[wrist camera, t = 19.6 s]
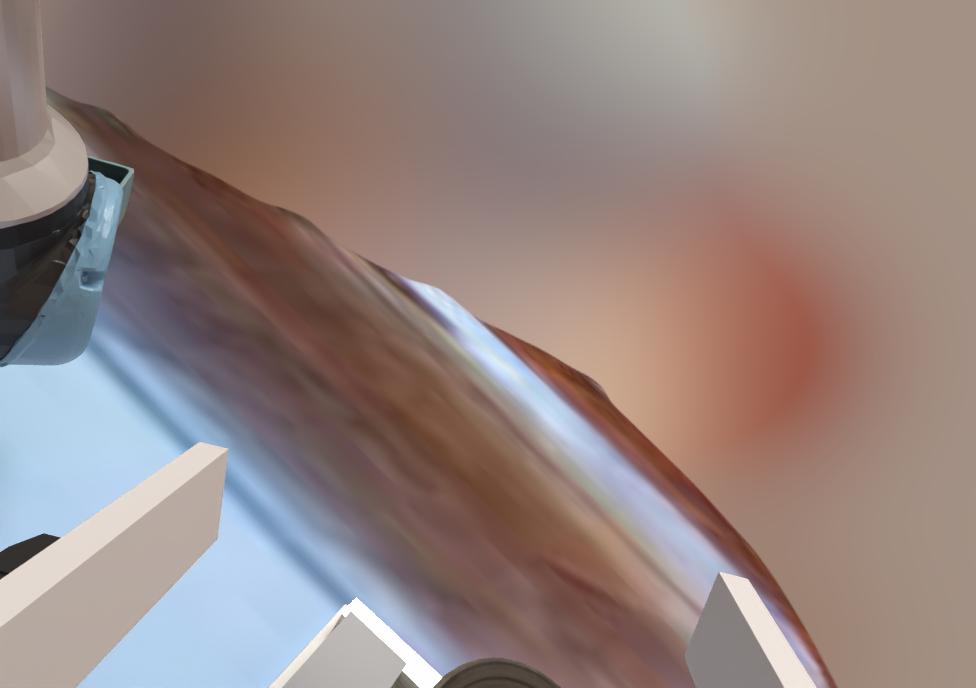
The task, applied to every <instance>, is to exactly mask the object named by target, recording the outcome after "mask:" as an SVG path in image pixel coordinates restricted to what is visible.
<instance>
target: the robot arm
mask: <svg viewBox="0 0 976 688" xmlns="http://www.w3.org/2000/svg"><path fill="white" fill-rule="evenodd" d="M122 200H123V189H122V187H121V186H120V184H119V183H117V182H116V181H115V180H112V179H110V178H107V177H104V175H102V174H101V173H100V172H94V171H89V163H88V158H87V153H86V148H85V145H84V143H83V141H82V139H81V137H80V136H79V134H78V133H77V132H76V130H75V129H74V128H73V127H72V125H71V124H70V123H69V122H68V121H67V120H66V119H65V118H63V117H62V116H61V115H60V114H59V113H58V112H56V111H55V110H54V109H53V108H51V107H50V106H49V105H47V104H46V93H45V78H44V64H43V49H42V34H41V20H40V5H39V0H0V367H4V366H7V365H9V364H11V365H60V364H64V363H68V362H70V361H72V360H74V359H76V358H77V357H78V356H80V355H81V354H82V353H83V352H84V350H85V349H86V347H87V345H88V342H89V339H90V336H91V333H92V330H93V326H94V322H95V318H96V314H97V310H98V306H99V302H100V298H101V294H102V289H103V284H104V283H103V282H104V278H105V276H106V272H107V268H108V263H109V261H110V257H111V253H112V248H113V244H114V240H115V235H116V230H117V226H118V221H119V216H120V211H121V206H122ZM227 457H228V449H227V448H223V447H219V446H215V445H211V444H207V443H203V442H199V443H198V444H196V445H195V446H193V447H192V448H190V449H189V450H187V451H186V452H185V453H183V454H182V455H180V456H179V457H177V458H176V459H174V460H173V461H172V462H170V463H169V464H167V465H166V466H164V467H163V468H161V469H160V470H158V471H157V472H156V473H154V474H153V475H151V476H150V477H148V478H147V479H145V480H144V481H143V482H141V483H140V484H138V485H137V486H135V487H134V488H132V489H131V490H130V491H128V492H127V493H125V494H124V495H122V496H121V497H119V498H118V499H116V500H115V501H114V502H112V503H111V504H109V505H108V506H106V507H105V508H103V509H102V510H101V511H99V512H98V513H96V514H95V515H93V516H92V517H90V518H89V519H87V520H86V521H85V522H83V523H82V524H80V525H79V526H77V527H76V528H74V529H73V530H72V531H70V532H69V533H67V534H66V535H64V536H63V537H61V538H60V537H56V536H52V535H48V534H41V535H38V536H36V537H33V538H31V539H28V540H25V541H23V542H20V543H18V544H15V545H12V546H10V547H8V548H6V549H5V550H3V551H1V552H0V688H76V687H77V686H78V685H79V684H80V683H81V682H82V681H83V679H84V678H85V677H86V676H87V675H88V674H89V673H90V672H91V671H92V670H93V669H94V668H95V667H96V666H97V665H98V664H99V663H100V662H101V661H102V660H103V658H104V657H105V656H106V655H107V654H108V653H109V652H110V651H111V650H112V649H113V648H114V647H115V646H116V645H117V644H118V643H119V642H120V641H121V640H122V639H123V637H124V636H125V635H126V634H127V633H128V632H129V631H130V630H131V629H132V628H133V627H134V626H135V625H136V624H137V623H138V622H139V621H140V620H141V619H142V618H143V616H144V615H145V614H146V613H147V612H148V611H149V610H150V609H151V608H152V607H153V606H154V605H155V604H156V603H157V602H158V601H159V600H160V599H161V598H162V597H163V596H164V594H165V593H166V592H167V591H168V590H169V589H170V588H171V587H172V586H173V585H174V584H175V583H176V582H177V581H178V580H179V579H180V578H181V577H182V576H183V575H184V573H185V572H186V571H187V570H188V569H189V568H190V567H191V566H192V565H193V564H194V563H195V562H196V561H197V560H198V559H199V558H200V557H201V556H202V555H203V554H204V552H205V551H206V550H207V549H208V548H209V547H210V546H211V545H212V544H213V543H214V542H215V541H216V540H217V538H218V530H219V521H220V513H221V505H222V497H223V489H224V481H225V473H226V465H227ZM684 657H685V660H686V662H687V665H688V668H689V670H690V673H691V676H692V678H693V681H694V684H695V686H696V688H816V686H815V684H814V683H813V681H812V680H811V678H810V677H809V675H808V673H807V672H806V670H805V669H804V667H803V666H802V664H801V662H800V661H799V659H798V658H797V656H796V654H795V653H794V651H793V650H792V648H791V647H790V645H789V643H788V642H787V640H786V639H785V637H784V636H783V634H782V632H781V631H780V629H779V628H778V626H777V624H776V623H775V621H774V620H773V618H772V617H771V615H770V613H769V612H768V610H767V609H766V607H765V606H764V604H763V602H762V601H761V599H760V598H759V596H758V594H757V593H756V591H755V590H754V588H753V587H752V585H751V583H750V582H749V580H748V579H746V578H742V577H738V576H734V575H730V574H726V573H722V572H719V573H718V575H717V577H716V580H715V582H714V585H713V587H712V590H711V592H710V594H709V597H708V599H707V602H706V604H705V607H704V609H703V612H702V614H701V616H700V619H699V621H698V624H697V626H696V629H695V631H694V633H693V636H692V638H691V641H690V643H689V646H688V648H687V651H686V653H685V655H684Z"/></svg>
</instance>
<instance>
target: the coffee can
mask: <svg viewBox="0 0 976 688" xmlns="http://www.w3.org/2000/svg"><path fill="white" fill-rule="evenodd" d="M433 688H561V687H560V686H558V685H557V684H556V683H555V682H553V681H552V680H551V679H550V678H548V677H547V676H546V675H544V674H543V673H541V672H540V671H538V670H536V669H534V668H532V667H530V666H528V665H526V664H523V663H521V662H517V661H513V660H509V659H504V658H484V659H478V660H474V661H471V662H468V663H466V664H463V665H461V666H459V667H457V668H455V669H454V670H452V671H451V672H449V673H448V674H446V675H445V676H444V677H443V678H441V679H440V680H439V681H438V682H437V683H436V684H435V685H434V686H433Z"/></svg>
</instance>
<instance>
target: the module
mask: <svg viewBox="0 0 976 688" xmlns="http://www.w3.org/2000/svg"><path fill="white" fill-rule="evenodd" d="M406 665H407V663H406V662H405V661H404V660H403V659H402V658H401V657H400V656H399V655H398V654H397V653H396V652H395V651H394V650H393V649H391V648H390V647H389V646H388V645H387V644H386V643H385V642H384V641H383V640H382V639H381V638H380V637H379V636H378V635H377V634H375V633H374V632H373V631H372V630H371V629H370V628H369V627H368V626H367V625H366V624H365V623H364V622H363V621H362V620H361V619H359V618H358V617H357V616H356V615H355V614H354V613H353V612H352V611H350V612H349V613H348V615H347V616H346V617H345V618H344V619H343V620H342V621H341V622H340V623H339V625H338V626H337V627H336V628H335V629H334V630H333V631H332V632H331V634H330V635H329V636H328V637H327V638H326V639H325V640H324V641H323V642H322V644H321V645H320V646H319V647H318V648H317V649H316V650H315V651H314V653H313V654H312V655H311V656H310V657H309V658H308V659H307V660H306V661H305V663H304V664H303V665H302V666H301V667H300V668H299V669H298V670H297V672H296V673H295V674H294V675H293V676H292V677H291V678H290V679H289V680H288V682H287V683H286V684H285V685H284V686H283V687H282V688H391V687H392V685H393V684H394V682H395V681H396V679H397V678H398V676H399V675H400V674H401V672H402V671H403V669H404V668H405V666H406Z"/></svg>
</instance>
